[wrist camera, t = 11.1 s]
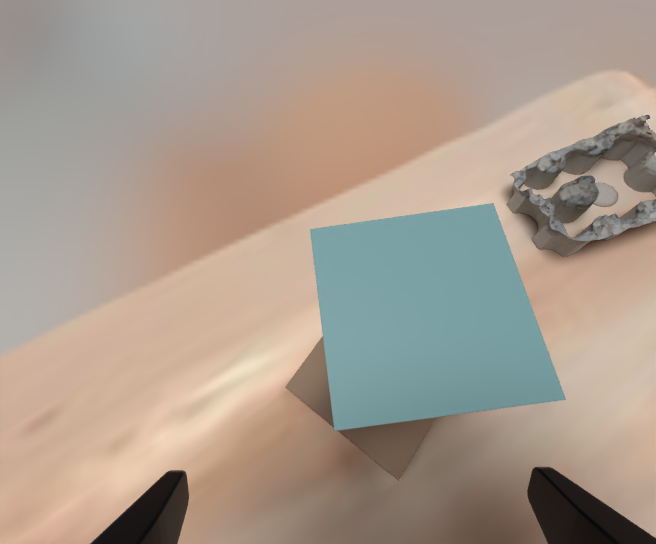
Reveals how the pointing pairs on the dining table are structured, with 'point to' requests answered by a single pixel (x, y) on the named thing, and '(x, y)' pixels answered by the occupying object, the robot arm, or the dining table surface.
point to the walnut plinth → (376, 441)
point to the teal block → (426, 319)
